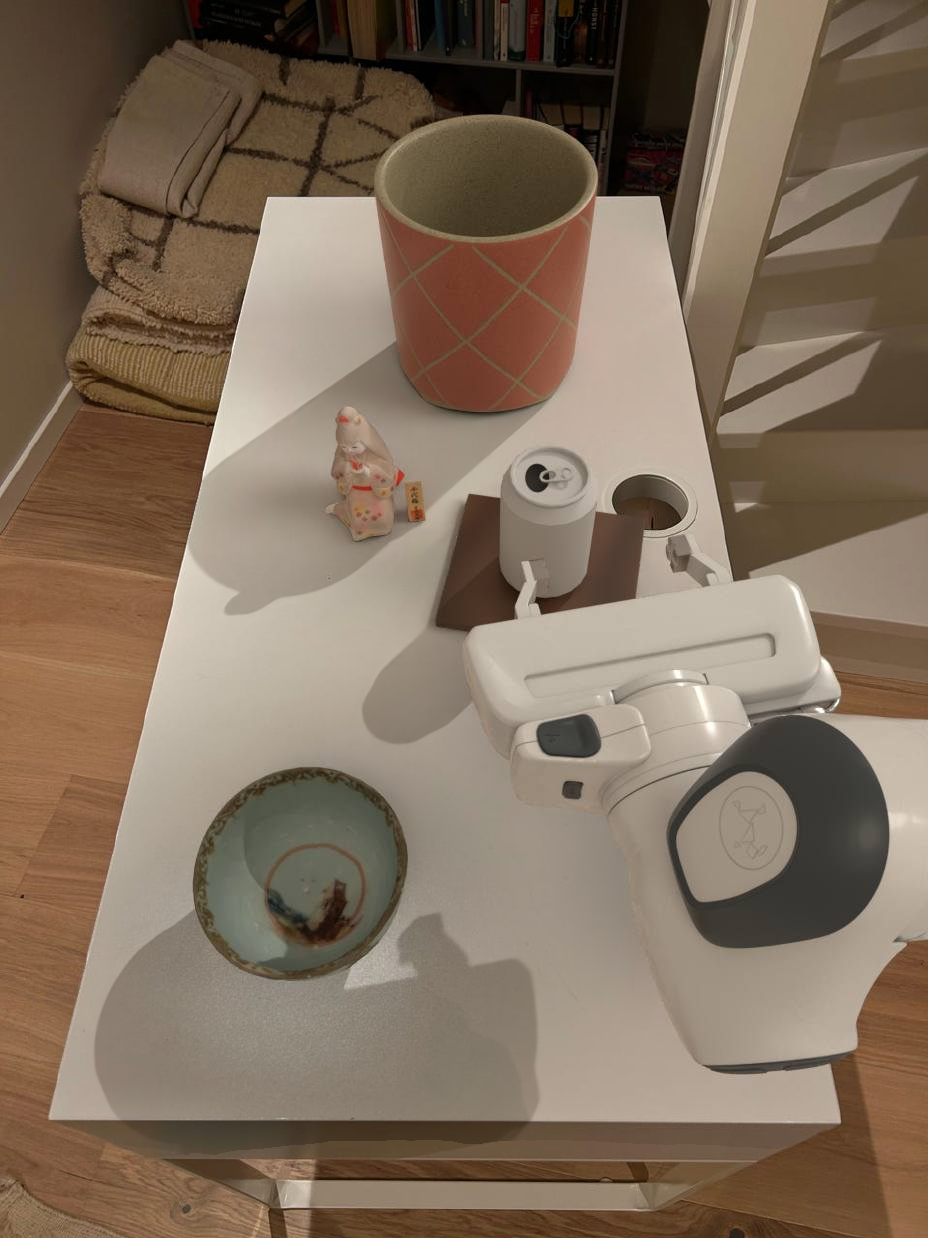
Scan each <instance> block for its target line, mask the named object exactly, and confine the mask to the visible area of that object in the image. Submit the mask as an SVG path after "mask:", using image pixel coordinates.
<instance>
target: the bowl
mask: <svg viewBox="0 0 928 1238" xmlns="http://www.w3.org/2000/svg"><path fill="white" fill-rule="evenodd" d="M403 830H404V829H403V827H402V825H401V823H400V821H399V818H398V816H397V814H396V812H395V811H394V809H393V807H392V806H391V805H390V803H389V802H388V801H387V800H386V799H385V798H384V796H382V794H380V793H379V791H377V790H376V789H375V788H374V787H372V785H369V784H368V783H366V782H365V781H363V780H362V779H359V778H357V777H356V776H353V775H350V774H348V773H347V772H343V771H341V770H337V769H333V768H328V767H320V766H298V767H294V768H287V769H283V770H279V771H278V770H277V771H276V772H272V773H269V774H267V775H265V776H262V777H261V778H258V779H257V780H254V781H252V782H251V783H249V784H248V785H247V786H245V787H244V788H242V789H241V790H240V791H238V792H237V793H236V794H235V795H233V796H232V797H231V798H230V799H229V800H228V801H227V802H226V803H225V804H224V806H223V807H222V808H221V809H220V810H219V812H218V813H217V814H216V815H215V817H214V818H213V820H212V821H211V823H210V824H209V826H208V827H207V829H206V832H205V833H204V835H203V838H202V840H201V842H200V846H199V848H198V851H197V854H196V857H195V862H194V866H193V867H194V868H193V876H192V895H193V896H192V897H193V904H194V908H195V909H194V910H195V913H196V916H197V919H198V922H199V925H200V926H201V928H202V930H203V932H204V934H205V936H206V937H207V939H208V940H209V942H210V943H211V944H212V946H213V947H214V949H215V950H216V951H217V952H218V953H219V954H220V955H221V956H222V957H224V959H225V960H227V961H228V963H230V964H231V965H233V966H235V967H236V968H238V969H239V970H241V971H243V972H245V973H248V974H250V975H253V976H257V977H260V978H262V979H263V978H264V979H268V980H273V981H287V982H307V981H314V980H319V979H323V978H327V977H332V976H334V975H336V974H338V973H341V972H344V971H347V970H348V969H350V968H351V967H352V966H353V965H355V964H357V963H358V962H359V961H360V960H361V959H363V958H364V957H366V956H367V955H368V954H370V952H371V951H372V950H373V949H374V948H375V947H376V946H377V945H378V944H379V943H380V942H381V940H382V939H383V937H384V936H385V935H386V934H387V932H388V931H389V928H390V926H391V925H392V924H393V921H394V919H395V917H396V914H397V912H398V909H399V907H400V905H401V899H402V896H403V892H404V887H405V882H406V879H407V874H408V864H409V863H408V862H409V855H408V844H407V841H406V838H405V834H404V831H403Z"/></svg>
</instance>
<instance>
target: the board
mask: <svg viewBox="0 0 928 1238" xmlns="http://www.w3.org/2000/svg"><path fill="white" fill-rule="evenodd" d="M645 526H646V518H645V517H638V516H633V515H632V516H631V515H625V514H618V513H610V512H604V511H597V510H596V513H595V520H594V526H593V533H592V540H591V546H590V553H589V560H588V566H587V573H586V575H585V577H584V578H583V580H582V582H581V583H580V584H579V585H578V586H577V587H575V588H574V589H573V590H572V591H570V592H568V593H565V594H563V595H560V596H557V597H548V598H541V597H536V599H535V602H534V603H536V604H538V606H539V610H540V613H541V615H544V614H549V613H555V612H561V611H567V610H573V609H578V608H584V607H590V606H596V605H602V604H607V603H613V602H619V601H625V600H631V599H636V598H637V592H638V583H639V574H640V568H641V559H642V551H643V543H644V535H645V528H646V527H645ZM454 543H455V544H454V547H453V551H452V555H451V559H450V561H449V562H450V563H449V567H448V570H447V574H446V578H445V581H444V585H443V589H442V593H441V596H440V600H439V604H438V608H437V610H436V611H437V612H436V614H435V615H436V616H435V620H434V621H435V622H434V623H435V627H438V628H445V629H451V630H457V631H462V632H468V633H469V632H470V631H471V629H472V628H474V627H476V626H479V625H485V624H491V623H497V622H503V621H509V620H515V605H516V602H517V600H518V597H519V595H520V591H518V590H516V589H515V588H514V587H513V586H512V585H511V584H509V583H508V582H507V580H506V579H505V577H504V575H503V574H502V572H501V567H500V561H499V558H500V497H498V496H489V495H483V494H476V493H468V494H467V499H466V502H465V506H464V509H463V513H462V518H461V521H460V524H459V528H458V532H457V536H456V539H455V542H454Z"/></svg>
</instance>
